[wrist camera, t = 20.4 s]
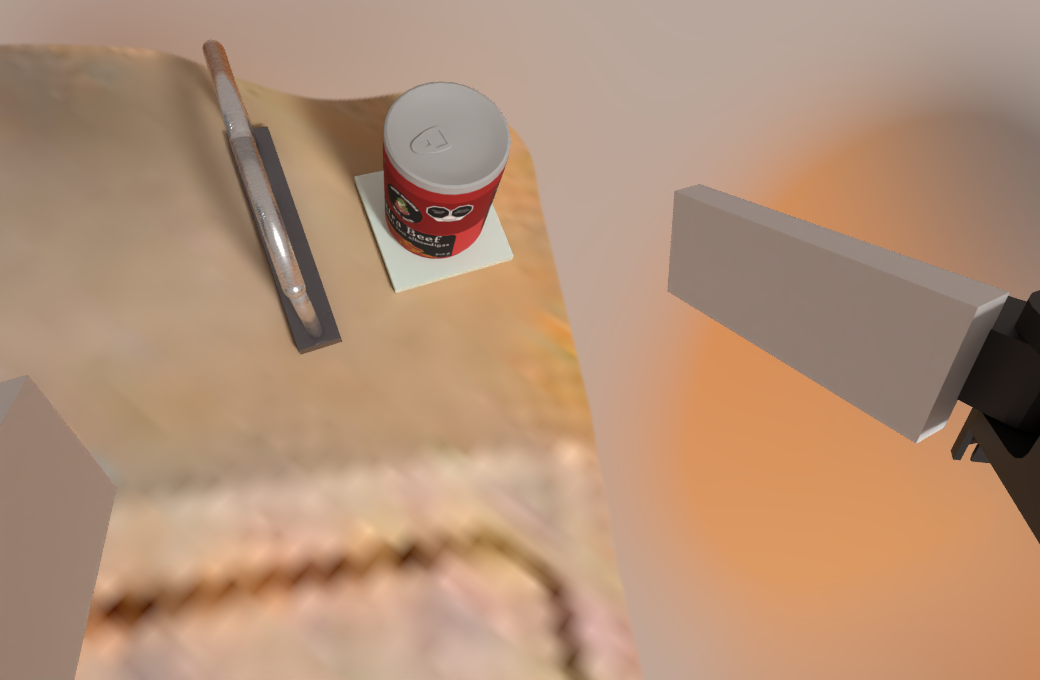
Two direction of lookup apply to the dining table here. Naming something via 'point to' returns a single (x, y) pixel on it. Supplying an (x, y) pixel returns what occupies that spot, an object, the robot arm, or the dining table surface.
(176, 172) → the dining table surface
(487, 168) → the canned food
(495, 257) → the sage mat
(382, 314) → the dining table surface
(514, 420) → the dining table surface
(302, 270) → the metal handle
